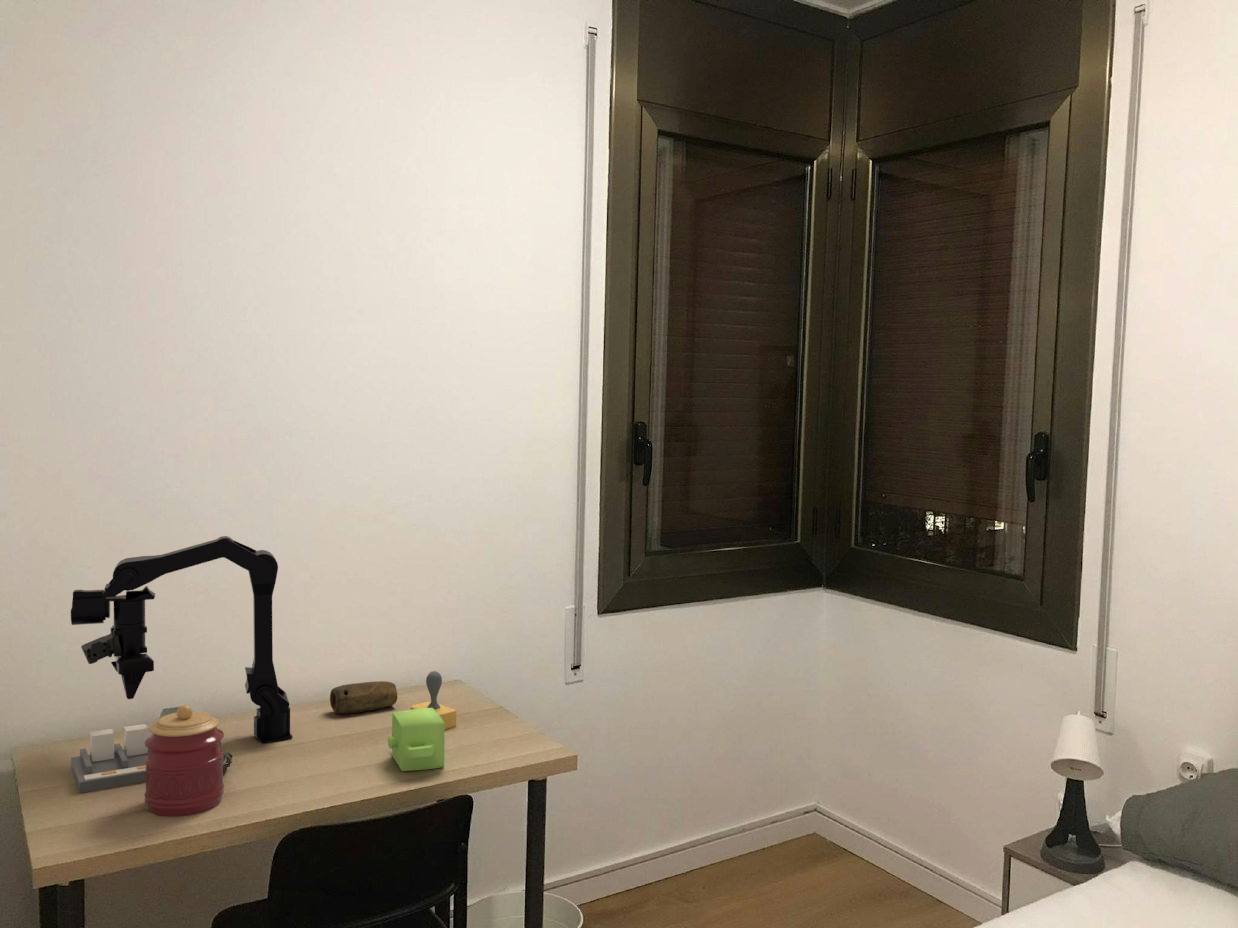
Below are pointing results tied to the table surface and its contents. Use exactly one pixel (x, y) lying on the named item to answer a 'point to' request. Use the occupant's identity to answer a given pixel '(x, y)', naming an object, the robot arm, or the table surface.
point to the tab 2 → (135, 740)
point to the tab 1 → (101, 745)
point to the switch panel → (108, 770)
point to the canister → (184, 763)
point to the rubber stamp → (434, 686)
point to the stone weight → (363, 697)
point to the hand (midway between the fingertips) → (129, 698)
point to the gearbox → (417, 739)
